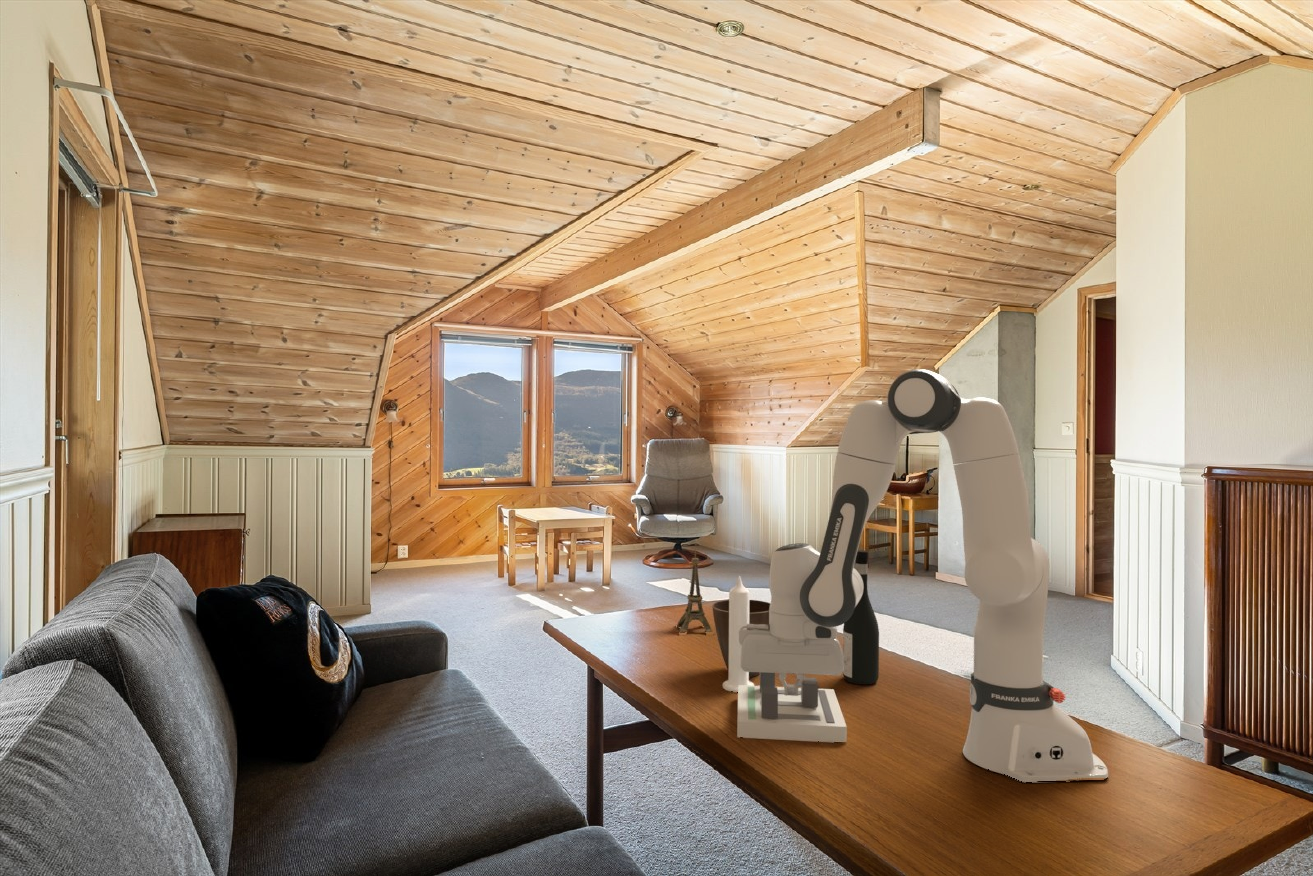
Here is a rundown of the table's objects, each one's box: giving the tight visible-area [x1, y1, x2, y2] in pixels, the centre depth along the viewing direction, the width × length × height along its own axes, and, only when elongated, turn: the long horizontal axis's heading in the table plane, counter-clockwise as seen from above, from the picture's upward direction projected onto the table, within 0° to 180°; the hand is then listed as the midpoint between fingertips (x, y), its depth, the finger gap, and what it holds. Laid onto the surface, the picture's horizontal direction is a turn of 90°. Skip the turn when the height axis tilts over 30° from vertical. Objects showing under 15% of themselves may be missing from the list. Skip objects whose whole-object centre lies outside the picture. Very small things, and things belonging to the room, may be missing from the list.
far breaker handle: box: [759, 672, 776, 692], centre depth 160 cm, size 3×4×4 cm
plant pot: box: [712, 599, 771, 678], centre depth 182 cm, size 15×15×16 cm
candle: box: [722, 575, 755, 693], centre depth 171 cm, size 7×7×25 cm
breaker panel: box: [736, 685, 848, 743], centre depth 152 cm, size 20×21×3 cm
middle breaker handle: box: [800, 676, 819, 707], centre depth 152 cm, size 3×4×4 cm
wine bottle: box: [842, 549, 880, 686], centre depth 177 cm, size 8×8×30 cm
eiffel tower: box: [676, 543, 714, 633], centre depth 221 cm, size 11×11×25 cm
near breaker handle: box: [761, 686, 778, 718], centre depth 146 cm, size 3×4×4 cm
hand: (791, 694), depth 152 cm, fingers closed
